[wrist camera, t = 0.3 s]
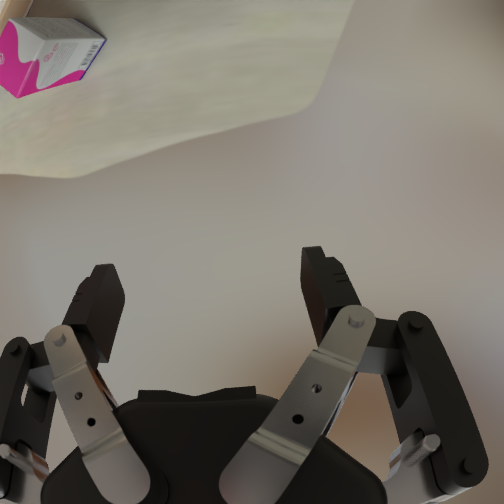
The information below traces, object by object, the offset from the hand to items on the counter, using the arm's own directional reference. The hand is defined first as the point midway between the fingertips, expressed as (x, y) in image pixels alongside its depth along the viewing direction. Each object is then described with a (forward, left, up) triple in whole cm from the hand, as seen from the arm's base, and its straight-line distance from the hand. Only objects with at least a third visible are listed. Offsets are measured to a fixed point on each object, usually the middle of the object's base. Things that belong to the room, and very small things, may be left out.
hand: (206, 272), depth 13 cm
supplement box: (0, -21, -23) cm, 31 cm away
